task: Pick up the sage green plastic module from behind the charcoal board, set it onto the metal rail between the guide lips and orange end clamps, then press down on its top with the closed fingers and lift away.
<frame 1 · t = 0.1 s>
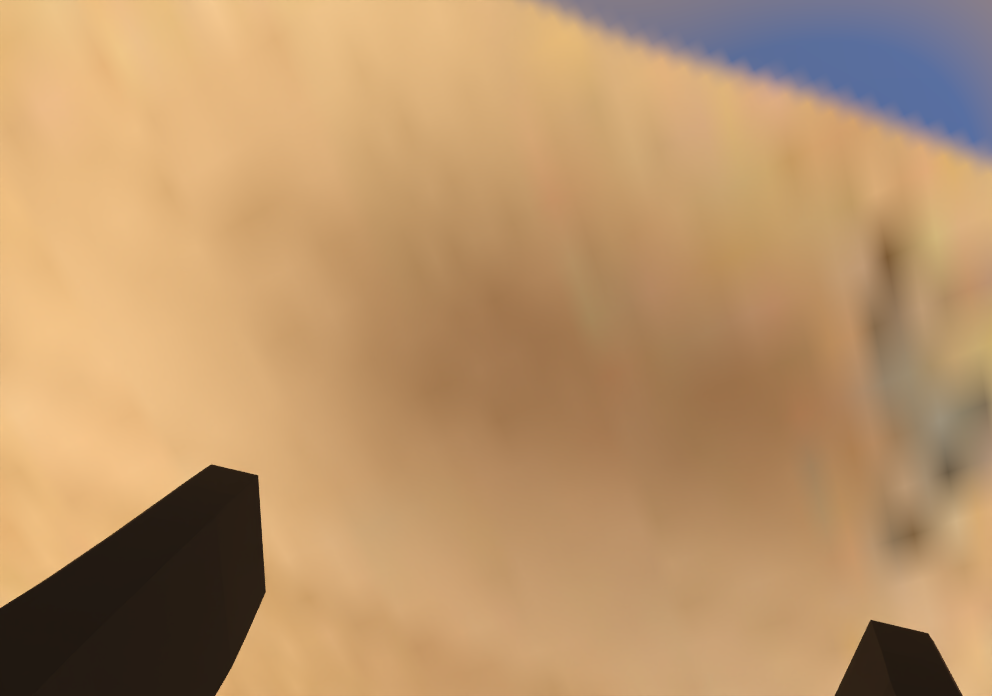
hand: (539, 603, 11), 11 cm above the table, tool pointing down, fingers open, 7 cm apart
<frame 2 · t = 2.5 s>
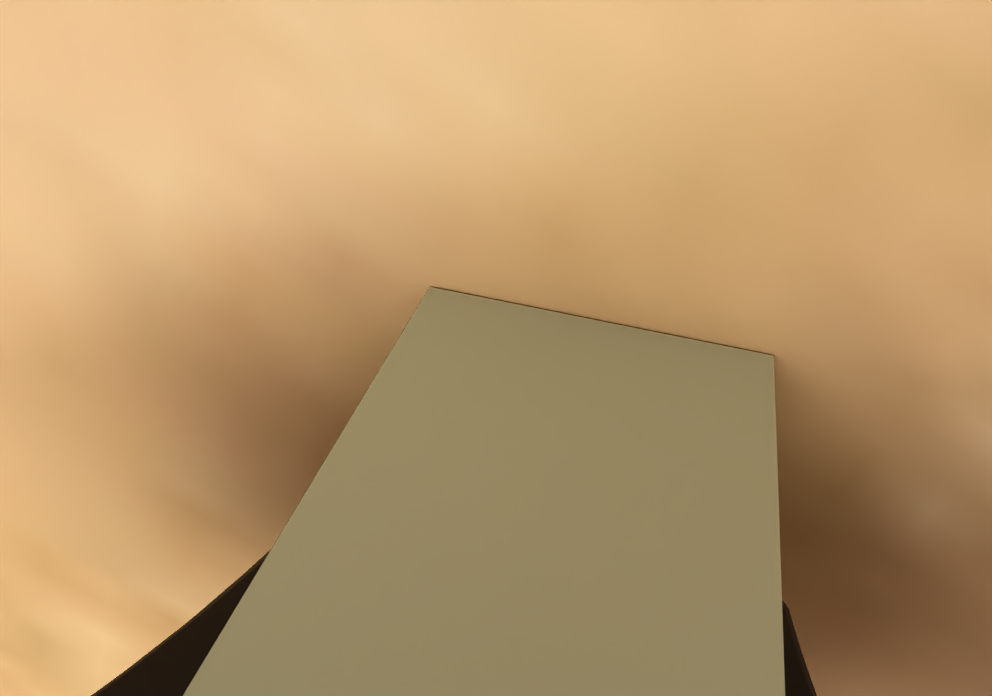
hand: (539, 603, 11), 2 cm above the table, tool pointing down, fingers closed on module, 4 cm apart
module: (562, 511, 12), on the table, touching gripper
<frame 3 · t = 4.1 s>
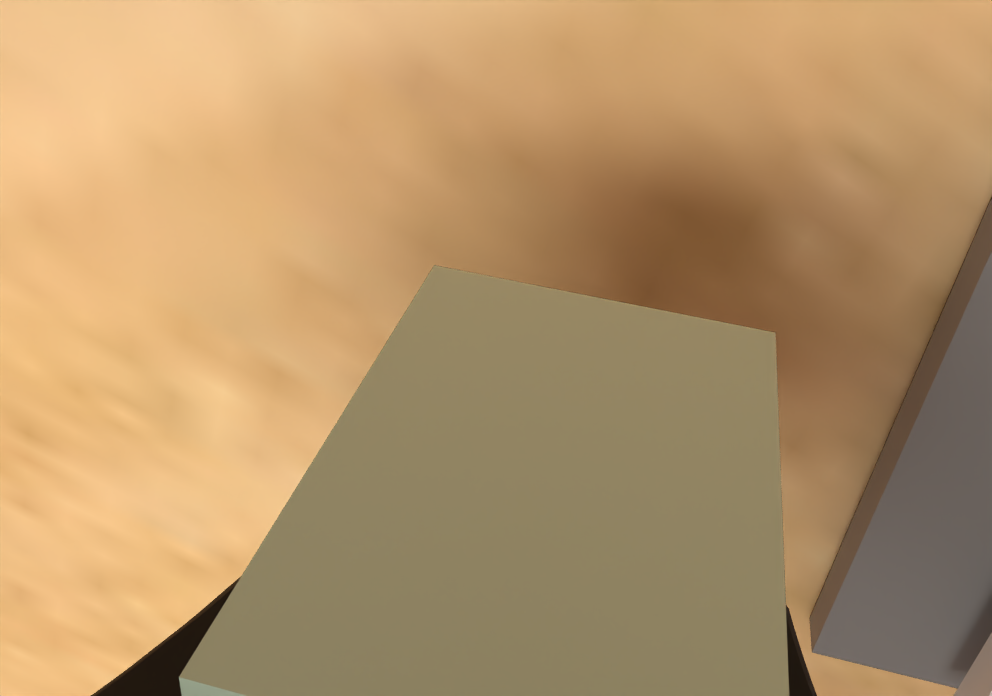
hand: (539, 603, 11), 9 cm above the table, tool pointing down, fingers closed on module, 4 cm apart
module: (565, 490, 12), point 7 cm above the table, touching gripper
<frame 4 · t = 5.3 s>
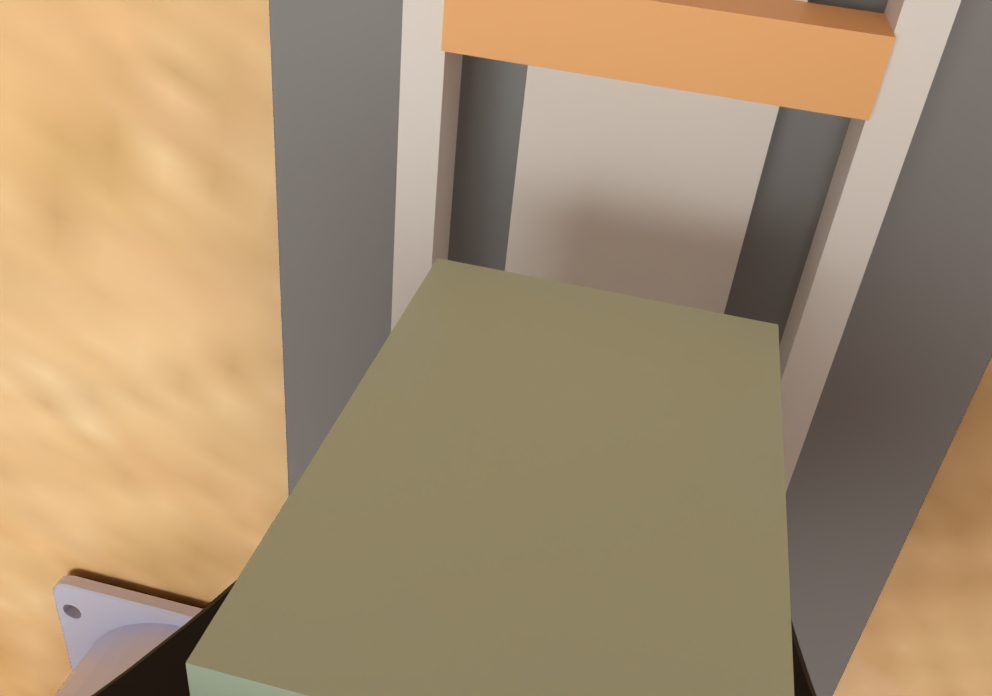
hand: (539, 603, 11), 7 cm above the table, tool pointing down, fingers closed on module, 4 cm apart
rail board: (612, 307, 17), on the table
module: (568, 483, 12), point 5 cm above the table, touching gripper
when the fingers open (4 cm above the table, at t = 6.2 s): module stays where it is, resting on rail board.
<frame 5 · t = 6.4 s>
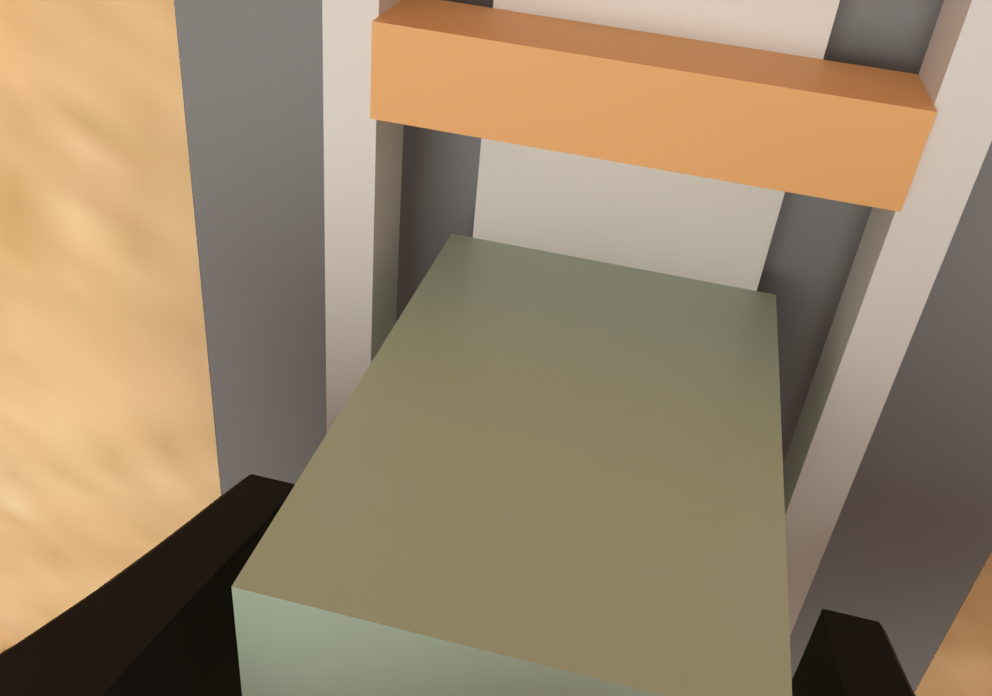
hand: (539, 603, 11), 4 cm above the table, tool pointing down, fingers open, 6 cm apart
rail board: (592, 392, 15), on the table
module: (576, 451, 13), point 2 cm above the table, touching rail board
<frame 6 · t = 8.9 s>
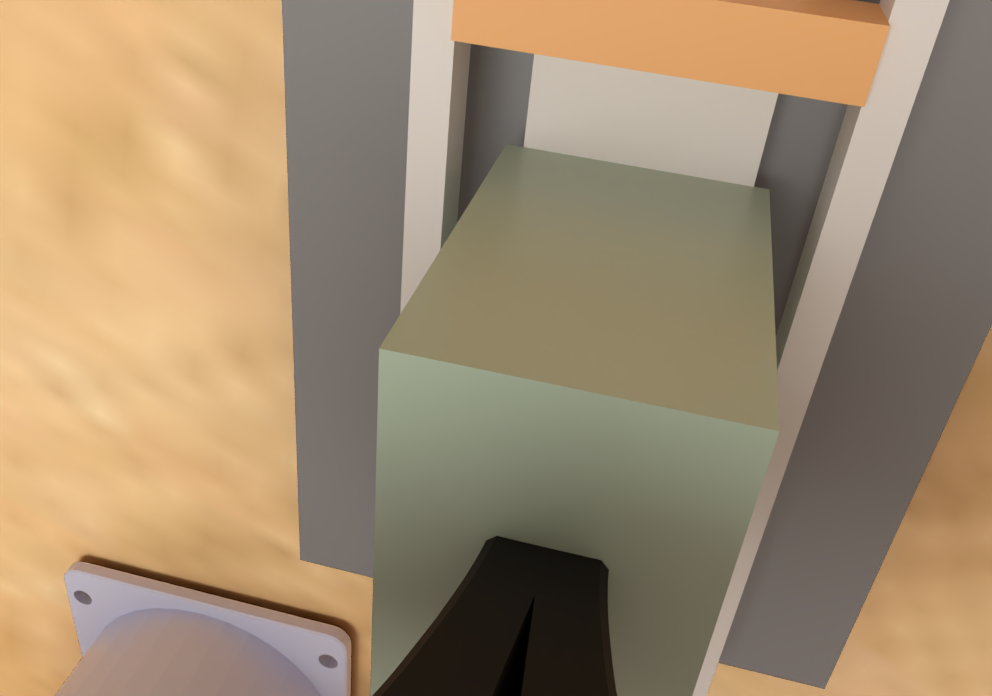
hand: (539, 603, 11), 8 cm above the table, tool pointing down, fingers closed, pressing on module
rail board: (615, 293, 17), on the table
module: (604, 332, 16), point 2 cm above the table, touching gripper, rail board
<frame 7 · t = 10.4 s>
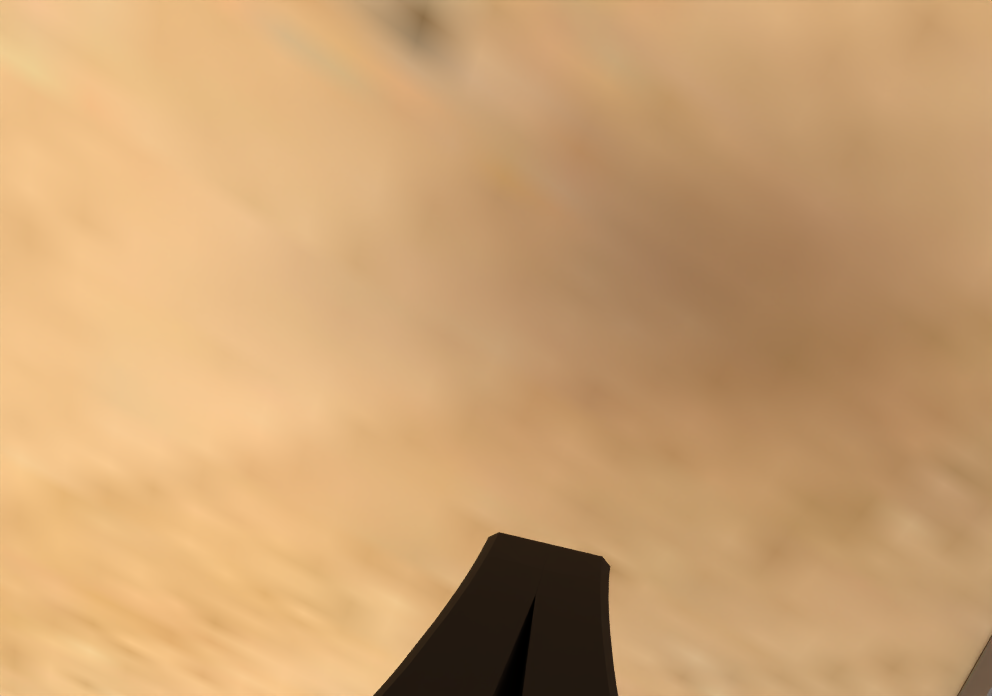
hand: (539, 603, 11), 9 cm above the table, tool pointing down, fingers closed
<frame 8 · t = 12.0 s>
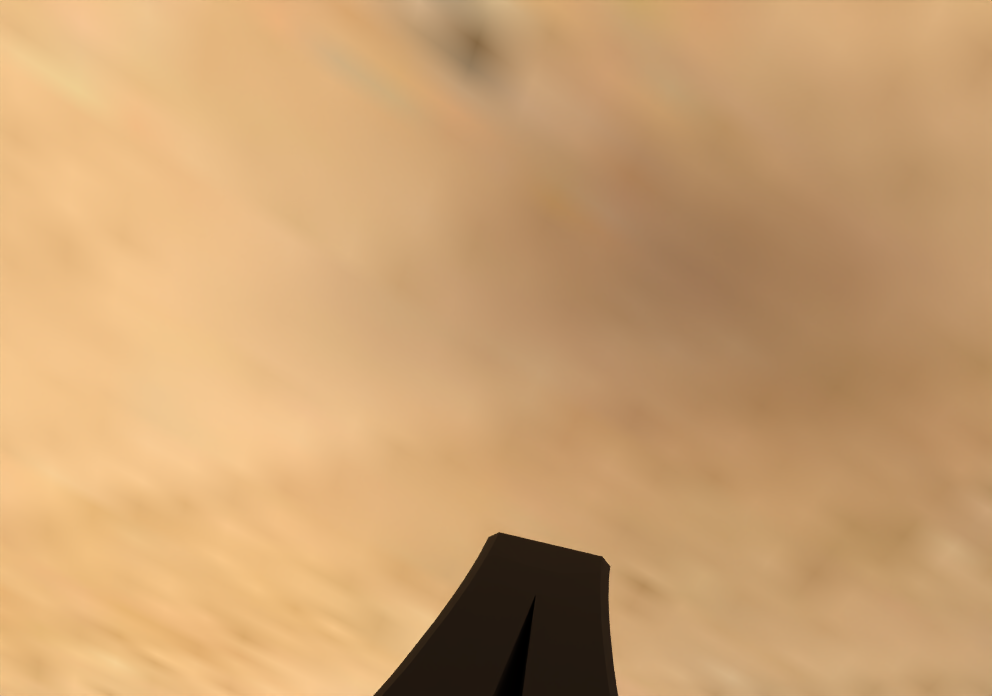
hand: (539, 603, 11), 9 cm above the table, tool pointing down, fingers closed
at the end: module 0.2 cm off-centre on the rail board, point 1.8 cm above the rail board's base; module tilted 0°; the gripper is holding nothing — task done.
